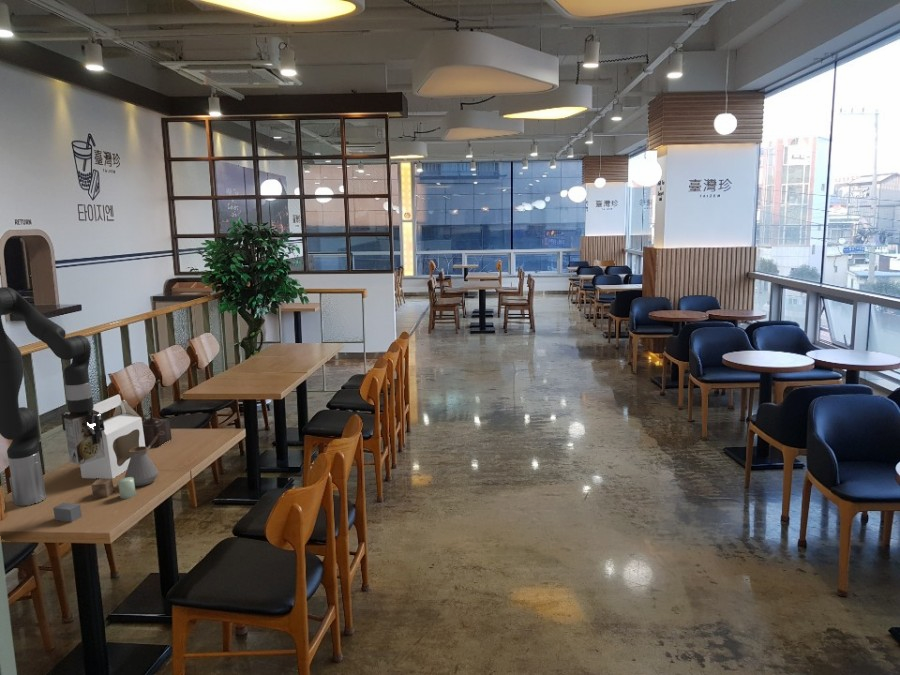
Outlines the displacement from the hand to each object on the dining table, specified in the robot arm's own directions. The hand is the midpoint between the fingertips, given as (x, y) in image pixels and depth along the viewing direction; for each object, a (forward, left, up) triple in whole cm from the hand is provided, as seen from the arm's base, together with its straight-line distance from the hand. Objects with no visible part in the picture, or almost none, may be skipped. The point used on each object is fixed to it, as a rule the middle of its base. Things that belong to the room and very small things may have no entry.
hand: (85, 443), depth 230 cm
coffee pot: (+2, +27, -23) cm, 36 cm away
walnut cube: (-5, +10, -23) cm, 26 cm away
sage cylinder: (+5, +10, -23) cm, 26 cm away
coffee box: (0, 0, -6) cm, 6 cm away
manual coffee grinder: (-22, +60, -23) cm, 68 cm away
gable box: (-19, +34, -23) cm, 45 cm away
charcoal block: (-3, -9, -23) cm, 25 cm away
